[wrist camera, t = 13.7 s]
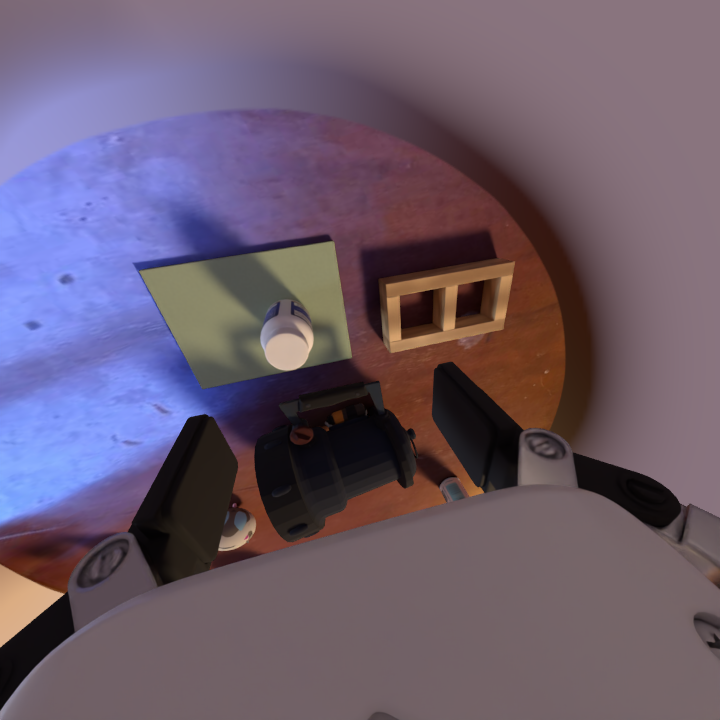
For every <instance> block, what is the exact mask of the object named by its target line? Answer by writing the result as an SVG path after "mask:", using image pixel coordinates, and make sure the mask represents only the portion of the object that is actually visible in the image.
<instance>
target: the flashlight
mask: <svg viewBox="0 0 720 720" xmlns="http://www.w3.org/2000/svg"><path fill="white" fill-rule="evenodd" d="M368 392H369V393H370V395H371V398H372V400H373V402H374V405H375V406H372V407H370V409H369V412H370V417H369V415H367V409H366V406H365V405H363V404H362V403H360V404H357V405H351V406H348V407H345V409H342V410H339V411H336V412H334V413H332V415H329V416H328V417H327V420H326V422H327V423H326V422H325V425H326V426H328V427H329V431H325V430H324V429H323V428H322V427H318V426H317V427H314V428H310V427H309V424H308V422H307V420H306V419H303V418H299V416H298V415H297V413H296V412H298V411H300V412H304V411H307V410H311V409H315V408H321V407H327V406H331V405H334V404H337V403H340V402H343V401H346V400H349V399H353V398H358V397H362V396H365V395H368ZM279 407H280V409H281V410H282V411H283V413H284V414H285V415H286V417H287V418H288V419H289V421H290V422H291V423H292V425H288V426H287V425H283V426H280V427H277V428H275V429H273V430H272V432H270V433H268V434H265V435H263V436H261V437H260V438H259V439H258V441H257V443H256V446H255V455H254V458H255V472H256V478H257V483H258V487H259V491H260V495H261V499H262V501H263V504H264V507H265V510H266V512H267V515H268V517H269V519H270V521H271V523H272V525H273V527H274V528H275V530H276V531H277V532H278V534H279V535H280V536H281V537H282V538H283V539H284V540H286V541H287V542H294V541H297V540H299V539H301V538H303V537H304V538H306V537H310V536H312V535H314V534H316V533H318V532H319V530H321V529H323V527H324V526H325V518H326V517H328V516H330V515H333V514H336V513H338V512H341V511H343V510H344V509H345V507H346V505H347V500H348V499H351V498H353V497H356V496H358V495H361V494H363V493H365V492H368V491H370V490H373V489H375V488H378V487H380V486H383V485H385V484H387V483H390V482H392V481H395V480H397V481H398V482H399V484H400V485H401V486H402V487H403V488H408V487H410V486H412V485H413V484H414V483H413V476H414V475H415V472H416V461H415V458H416V459H417V458H418V453H417V450H416V447H415V445H414V443H413V440H412V439H415V438H416V435H415V432H414V430H413V429H411V428H410V429H409V430H408V431H406V430H405V429H404V428H403V427H402V426H401V424H400V423H399V421H398V419H397V418H396V416H395V415H394V414H393V413H392V412H391V411H389V410H387V409H385V408H384V405H383V400H382V394H381V388H380V382H379V381H376V382H371V383H367V384H364V383H363V382H359V383H354V384H350V385H345V386H340V387H336V388H331V389H327V390H322V391H318V392H313V393H308V394H304V395H299V399H295V400H291V401H287V402H283V403H280V404H279ZM334 424H336V425H334ZM410 440H411V442H412V444H413V447H414V449H415V453H416V456H415V455H414V453H413V451H412V448H411V442H410Z"/></svg>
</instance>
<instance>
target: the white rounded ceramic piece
mask: <svg viewBox="0 0 720 720" xmlns="http://www.w3.org/2000/svg"><path fill="white" fill-rule="evenodd" d="M233 507H234V508H228V511H227V516H226V520H225V524H224V528H223V532H222V536H221V541H220V545H219V549H218V550H220V551H227V550H232V549H236V548H238V547H240V546H242V545H243V544H245V543H246V542H247V543H248V540H249V539H250V538H251V537H252V535H253V534H254V531H255V528H256V521H255V518H254V516H253V515H252V514H251V513H250V512H249V511H247V510H245V509H242V508H235V507H237V504H233Z"/></svg>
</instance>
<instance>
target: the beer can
mask: <svg viewBox="0 0 720 720" xmlns="http://www.w3.org/2000/svg"><path fill="white" fill-rule="evenodd" d="M440 490H441V492H442V494H443V496H444V498H445V500H446V502H447V503H449V502H452V501H456V500H460V499H464V498H468V497H469V495H468V493H467V492H466V490H465V489H464V487H463V485H462V484H461V482H460V480H459V479H458V478H455V477H454V478H453V477H450V478H447V479H445V480H444V481H443V482H442V483H441V485H440Z"/></svg>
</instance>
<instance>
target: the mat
mask: <svg viewBox="0 0 720 720" xmlns="http://www.w3.org/2000/svg"><path fill="white" fill-rule="evenodd" d="M139 272H140V274H141V276H142V278H143V280H144V282H145V283H146V285H147V287H148V289H149V291H150V293H151V295H152V297H153V298H154V300H155V302H156V304H157V306H158V308H159V310H160V311H161V313H162V315H163V317H164V319H165V321H166V323H167V324H168V326H169V328H170V330H171V332H172V334H173V336H174V338H175V339H176V341H177V343H178V345H179V347H180V349H181V351H182V352H183V354H184V356H185V358H186V360H187V362H188V364H189V365H190V367H191V369H192V371H193V373H194V375H195V377H196V379H197V380H198V382H199V384H200V386H201V388H202V389H206V388H211V387H216V386H221V385H225V384H230V383H235V382H240V381H244V380H249V379H254V378H259V377H263V376H268V375H273V374H278V373H282V372H287V371H292V370H280V369H277V368H275V367H274V366H272V365H271V364H270V363H269V362H268V360H267V359H266V356H265V351H264V349H263V347H262V345H261V340H260V336H261V330H262V327H263V323H264V320H265V316H266V313H267V311H268V309H269V308H270V306H271V305H272V304H274V303H275V302H277V301H279V300H284V299H290V300H294V301H297V302H299V303H301V304H302V305H303V306H304V307H305V308H306V309H307V310H308V312H309V315H310V318H311V324H312V329H313V339H314V340H313V346H312V348H311V350H310V352H309V354H308V358H307V360H306V362H305V363H304V364H303V365H302V366H300V367H299V368H297V369H301V368H306V367H311V366H316V365H320V364H325V363H330V362H335V361H339V360H344V359H349V358H352V355H351V348H350V342H349V335H348V329H347V322H346V316H345V310H344V303H343V297H342V290H341V284H340V277H339V271H338V265H337V258H336V252H335V245H334V241H327V242H320V243H314V244H307V245H301V246H294V247H288V248H281V249H274V250H268V251H261V252H255V253H248V254H241V255H235V256H228V257H222V258H215V259H208V260H202V261H195V262H189V263H182V264H175V265H169V266H162V267H156V268H149V269H143V270H139ZM297 369H294V370H297Z"/></svg>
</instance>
